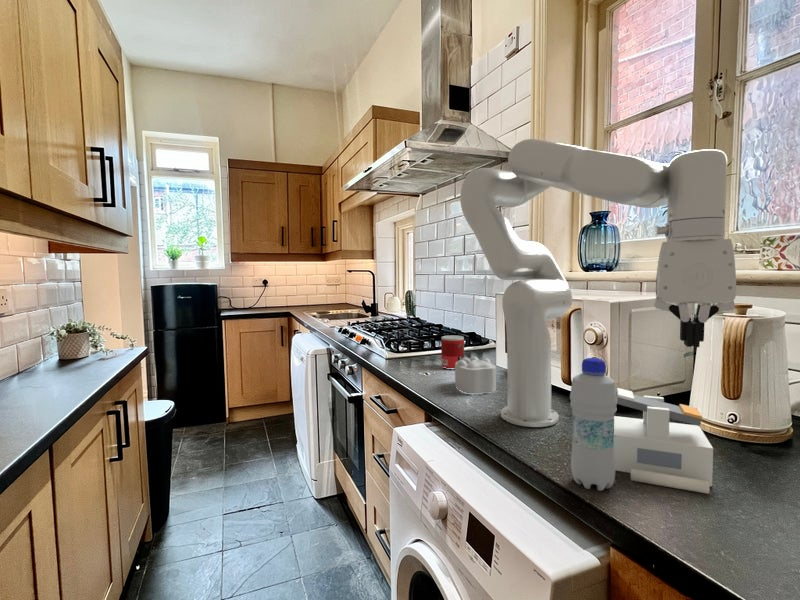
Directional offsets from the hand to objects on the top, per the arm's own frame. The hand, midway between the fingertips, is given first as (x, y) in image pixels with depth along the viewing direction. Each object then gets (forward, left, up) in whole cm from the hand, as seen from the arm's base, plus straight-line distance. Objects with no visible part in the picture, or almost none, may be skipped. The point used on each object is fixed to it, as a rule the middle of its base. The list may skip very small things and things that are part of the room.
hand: (691, 345), depth 67 cm
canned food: (-56, -60, -21) cm, 85 cm away
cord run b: (+8, -4, -21) cm, 22 cm away
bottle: (+11, -14, -21) cm, 28 cm away
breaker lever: (0, -5, -11) cm, 12 cm away
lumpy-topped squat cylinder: (-34, -46, -21) cm, 61 cm away
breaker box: (0, -5, -21) cm, 21 cm away
